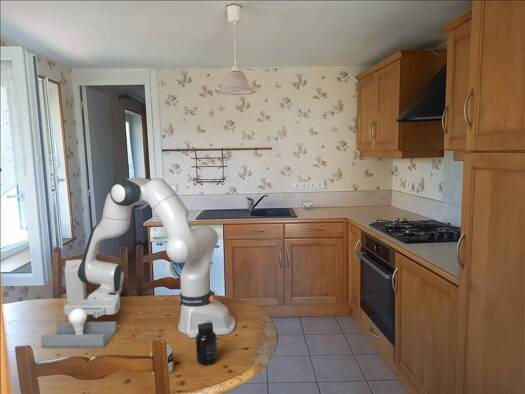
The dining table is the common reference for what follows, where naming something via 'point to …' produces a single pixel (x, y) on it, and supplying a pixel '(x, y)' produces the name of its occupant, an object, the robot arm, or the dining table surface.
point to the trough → (91, 338)
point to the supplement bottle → (206, 344)
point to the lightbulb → (78, 320)
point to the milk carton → (74, 281)
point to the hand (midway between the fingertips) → (82, 316)
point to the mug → (170, 358)
